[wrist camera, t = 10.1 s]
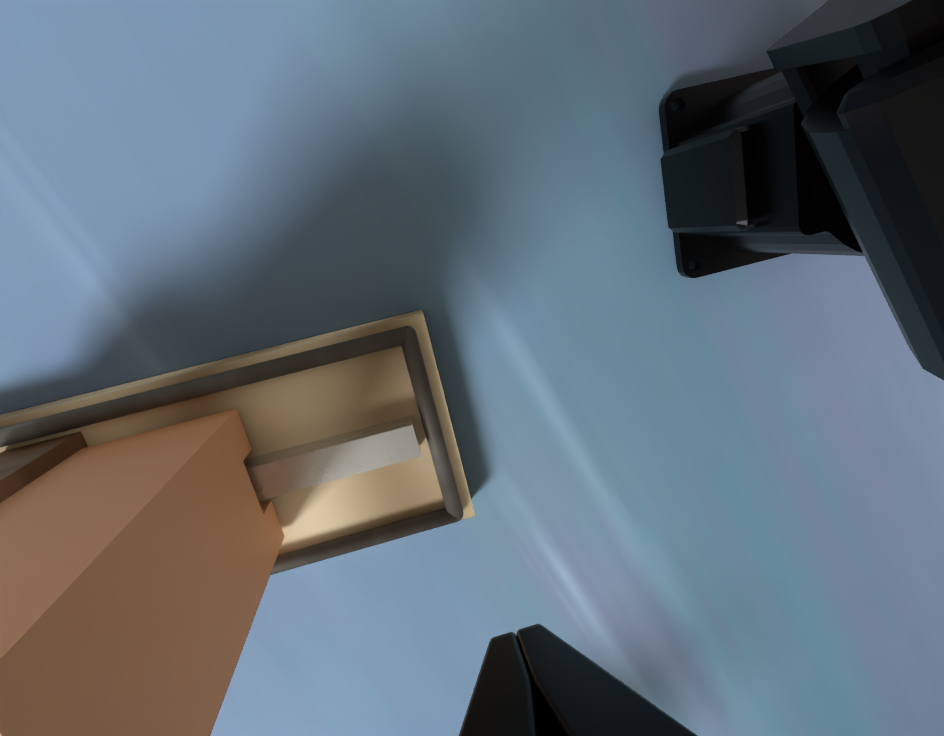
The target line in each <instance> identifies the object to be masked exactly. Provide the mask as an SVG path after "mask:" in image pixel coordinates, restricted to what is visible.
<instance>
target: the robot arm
mask: <svg viewBox="0 0 944 736" xmlns="http://www.w3.org/2000/svg"><path fill="white" fill-rule="evenodd" d="M767 53H768V55H769V57H770V59H771V61H772V64H773V66H774V68H773V69H769V70H764V71H760V72H755V73H751V74H746V75H742V76H737V77H733V78H728V79H724V80H719V81H715V82H710V83H706V84H701V85H697V86H692V87H688V88H683V89H679V90H676V91H673V92H671V93H669V94H668V95H666V96H665V97H664V98H663V99H662V100H661V103H660V105H659V116H660V124H661V133H662V142H663V151H664V154H663V156H662V158H661V168H662V176H663V185H664V193H665V202H666V211H667V219H668V227H669V228H670V229H671V230H672V231H673V238H674V247H675V255H676V264H677V269H678V272H679V273H680V274H681V275H682V276H684V277H688V278H697V277H701V276H705V275H709V274H713V273H717V272H721V271H725V270H729V269H732V268H736V267H740V266H744V265H748V264H752V263H756V262H760V261H764V260H768V259H772V258H776V257H779V256H783V255H787V254H791V253H796V254H826V255H855V256H865V258H866V260H867V262H868V264H869V266H870V268H871V270H872V272H873V274H874V276H875V278H876V280H877V282H878V284H879V286H880V289H881V291H882V293H883V295H884V297H885V299H886V301H887V303H888V305H889V307H890V309H891V311H892V313H893V315H894V317H895V319H896V322H897V324H898V326H899V328H900V330H901V332H902V334H903V336H904V338H905V340H906V342H907V344H908V346H909V348H910V350H911V351H912V353H913V354H914V356H915V357H916V359H917V360H918V362H919V363H920V365H921V366H922V368H923V369H925V370H926V371H928V372H930V373H932V374H933V375H935V376H937V377H939V378H941V379H942V380H944V0H829V1H828V2H826V3H825V4H824V5H823V6H821V7H820V8H819V9H818V10H817V11H815V12H814V13H813V14H812V15H810V16H809V17H808V18H807V19H805V20H804V21H803V22H802V23H800V24H799V25H798V26H797V27H795V28H794V29H793V30H792V31H790V32H789V33H788V34H787V35H785V36H784V37H783V38H782V39H780V40H779V41H778V42H777V43H775V44H774V45H773V46H772V47H770V48H769V49H768V50H767ZM673 101H676V102H677V103H678V105H679V112H678V113H677V114H676V113H674V112H673V111H672V108H671V106H672V102H673ZM691 259H694V260H695V267H694V268H693V269H692V270H690V269H689V262H690V260H691ZM516 635H517V636H516ZM459 736H697V735H696V734H694V733H693V732H691V731H690V730H689V729H687V728H686V727H684V726H683V725H682V724H680V723H679V722H677V721H676V720H675V719H673V718H672V717H670V716H669V715H668V714H666V713H665V712H663V711H662V710H660V709H659V708H658V707H656V706H655V705H653V704H652V703H651V702H649V701H648V700H646V699H645V698H644V697H642V696H641V695H639V694H638V693H637V692H635V691H634V690H632V689H631V688H629V687H628V686H627V685H625V684H624V683H622V682H621V681H620V680H618V679H617V678H615V677H614V676H613V675H611V674H610V673H608V672H607V671H606V670H604V669H603V668H601V667H600V666H598V665H597V664H596V663H594V662H593V661H591V660H590V659H589V658H587V657H586V656H584V655H583V654H582V653H580V652H579V651H577V650H576V649H575V648H573V647H572V646H570V645H569V644H568V643H566V642H565V641H563V640H562V639H560V638H559V637H558V636H556V635H555V634H553V633H552V632H551V631H549V630H548V629H546V628H545V627H544V626H542V625H540V624H535V625H532V626H529V627H526V628H522V629H519V630H518V631H517V634H515V633H513V632H509V633H506V634H503V635H500V636H496V637H493V638H492V639H491V640H490V642H489V645H488V648H487V651H486V654H485V657H484V660H483V663H482V666H481V669H480V672H479V675H478V678H477V682H476V685H475V688H474V691H473V694H472V697H471V700H470V703H469V706H468V709H467V712H466V715H465V718H464V721H463V724H462V727H461V730H460V733H459Z"/></svg>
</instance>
